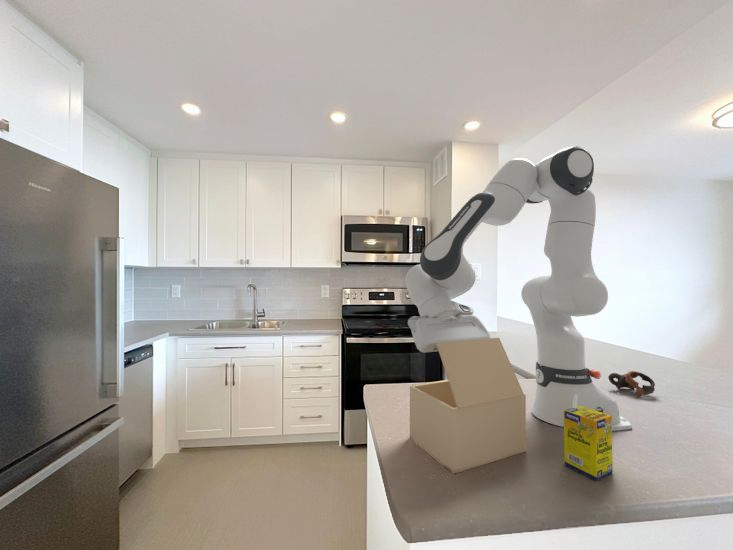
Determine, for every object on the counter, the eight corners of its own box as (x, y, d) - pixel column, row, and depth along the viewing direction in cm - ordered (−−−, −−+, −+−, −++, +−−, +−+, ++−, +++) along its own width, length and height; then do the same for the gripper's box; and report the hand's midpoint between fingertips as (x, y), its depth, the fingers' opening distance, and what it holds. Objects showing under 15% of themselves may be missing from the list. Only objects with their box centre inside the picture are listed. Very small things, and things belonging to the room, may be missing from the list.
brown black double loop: (642, 391, 108) (654, 374, 104) (649, 411, 101) (662, 394, 97) (602, 378, 113) (611, 361, 109) (606, 396, 105) (616, 379, 101)
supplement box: (597, 482, 56) (596, 421, 56) (563, 465, 61) (562, 409, 62) (614, 473, 59) (612, 415, 59) (580, 457, 64) (579, 404, 64)
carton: (473, 422, 80) (473, 375, 81) (526, 451, 66) (525, 394, 67) (408, 437, 72) (408, 385, 72) (453, 474, 58) (453, 409, 58)
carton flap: (497, 338, 73) (499, 337, 72) (522, 395, 66) (524, 394, 66) (436, 343, 65) (437, 342, 65) (457, 408, 59) (459, 408, 58)
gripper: (410, 308, 72) (436, 359, 63) (476, 306, 81) (507, 351, 71) (400, 325, 76) (423, 375, 67) (464, 322, 84) (492, 366, 75)
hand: (467, 363), depth 69 cm, fingers closed
